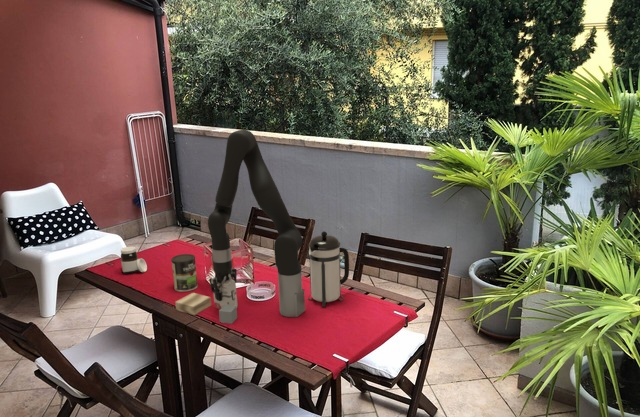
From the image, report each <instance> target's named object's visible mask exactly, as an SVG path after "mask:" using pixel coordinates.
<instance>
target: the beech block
mask: <svg viewBox="0 0 640 417" xmlns="http://www.w3.org/2000/svg"><path fill="white" fill-rule="evenodd" d="M174 303H175V310H176V311H178V312H182V313H184V314H189V315H192V316H195V315H198V314H199V313H200V312H203V311H204V310H206V309H207V308H209V307H211V306H212V297H211V296H207V295H204V294H200V293H195V292H191V293H190V294H187V295H186V296H184V297H181V298H180V299H178V300H176V301H174Z"/></svg>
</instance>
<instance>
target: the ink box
mask: <svg viewBox="0 0 640 417" xmlns="http://www.w3.org/2000/svg"><path fill="white" fill-rule="evenodd" d="M236 283H237V282H236ZM236 283H235V281H234V280H228V281H226V282H224V284H223V287H222V291H221V292H222V301H218V300H217V299H216V293H215V292H212V294H213V304H214V309H218V310H220V309H221V308H222V307H223V306H224V305H228V306H236V308H238V306H239V305H238V295H237V294H238V293H237V285H236ZM218 284H220V285H221V283H219V282H218ZM214 289H215V288H214ZM218 289H219V287H218Z"/></svg>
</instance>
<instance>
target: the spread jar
mask: <svg viewBox="0 0 640 417" xmlns="http://www.w3.org/2000/svg"><path fill="white" fill-rule="evenodd" d="M136 250H137V249H136V247H135V246H126V247H125V246H124V247H122V248H121V249H120V253H121V254H120V263H121V269H122V272H123V274H125V275H130V274H132V275H133V274H135V273H138V272H141V273H145V272H147V270H148V266H147V262H146V261H145V259H144V258H142V257H141V258H138V252H137V251H136Z"/></svg>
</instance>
